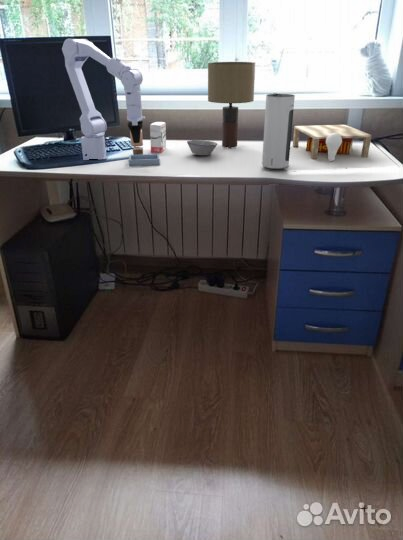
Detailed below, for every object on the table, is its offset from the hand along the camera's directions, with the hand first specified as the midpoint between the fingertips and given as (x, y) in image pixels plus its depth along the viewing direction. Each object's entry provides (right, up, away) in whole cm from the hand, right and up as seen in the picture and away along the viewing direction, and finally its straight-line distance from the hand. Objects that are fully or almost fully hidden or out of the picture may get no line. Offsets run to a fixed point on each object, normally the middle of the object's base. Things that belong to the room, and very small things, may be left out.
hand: (136, 141), depth 166 cm
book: (+83, +3, +23) cm, 86 cm away
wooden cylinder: (0, -1, +1) cm, 1 cm away
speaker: (+54, -10, -1) cm, 55 cm away
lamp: (+39, +7, +31) cm, 50 cm away
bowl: (+23, -2, +13) cm, 26 cm away
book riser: (+81, +2, +20) cm, 84 cm away
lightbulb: (+78, -7, +4) cm, 78 cm away
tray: (+2, -7, +4) cm, 9 cm away
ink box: (+6, +3, +23) cm, 24 cm away
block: (-1, -3, +11) cm, 12 cm away
